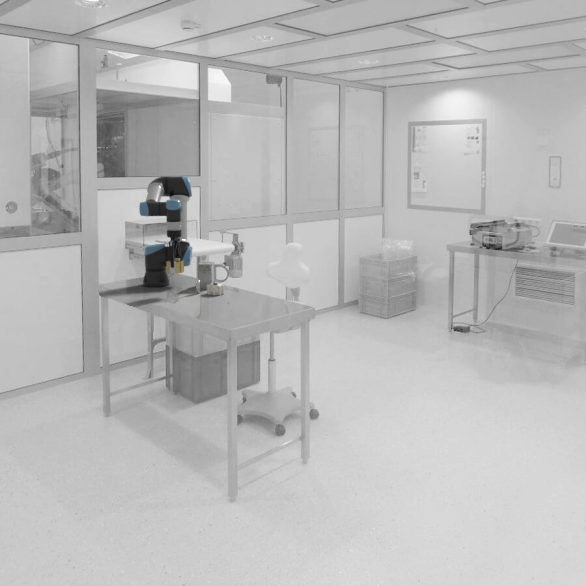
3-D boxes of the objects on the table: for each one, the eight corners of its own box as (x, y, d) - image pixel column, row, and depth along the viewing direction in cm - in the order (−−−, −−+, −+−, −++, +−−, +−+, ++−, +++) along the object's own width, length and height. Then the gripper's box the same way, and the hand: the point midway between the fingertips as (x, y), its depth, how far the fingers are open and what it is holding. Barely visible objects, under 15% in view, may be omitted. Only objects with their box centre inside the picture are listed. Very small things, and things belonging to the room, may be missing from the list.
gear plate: (192, 293, 356) (191, 279, 354) (225, 294, 354) (225, 280, 352) (187, 297, 347) (187, 282, 345) (222, 298, 345) (222, 283, 344)
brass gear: (169, 270, 355) (169, 259, 353) (185, 270, 354) (185, 259, 352) (165, 273, 346) (164, 262, 345) (181, 274, 345) (181, 262, 344)
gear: (209, 292, 355) (208, 281, 353) (225, 292, 354) (225, 281, 353) (205, 295, 346) (205, 284, 345) (222, 295, 345) (222, 284, 344)
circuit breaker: (217, 286, 376) (216, 260, 373) (211, 291, 362) (211, 264, 359) (204, 286, 377) (203, 260, 374) (198, 291, 363) (197, 264, 360)
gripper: (175, 232, 334) (177, 275, 339) (186, 227, 355) (187, 268, 360) (161, 232, 335) (162, 275, 340) (172, 226, 356) (173, 267, 361)
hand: (175, 271), depth 350 cm, fingers closed on brass gear, 9 cm apart
